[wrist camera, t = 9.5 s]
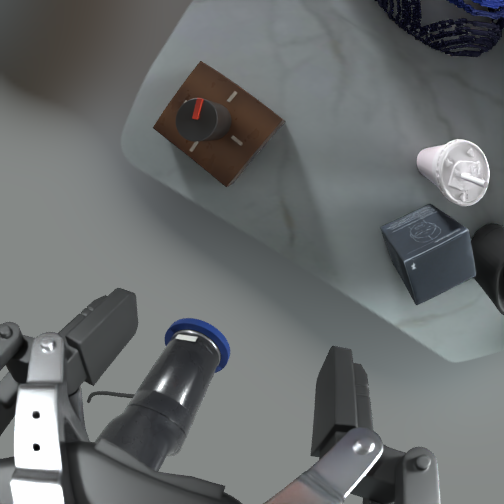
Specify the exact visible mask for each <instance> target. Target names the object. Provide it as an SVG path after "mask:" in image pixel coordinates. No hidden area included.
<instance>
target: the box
mask: <svg viewBox="0 0 504 504" xmlns="http://www.w3.org/2000/svg"><path fill="white" fill-rule="evenodd" d="M380 229H381V231H382V234H383V237H384V239H385V242H386V245H387V248H388V250H389V253H390V256H391V259H392V262H393V265H394V266H395V268H396V270H397V272H398V273H399V275H400V277H401V279H402V280H403V282H404V284H405V286H406V288H407V289H408V291H409V293H410V295H411V297H412V299H413V300H414V302H415V304H416V305H418V304H421V303H423V302H425V301H427V300H429V299H431V298H433V297H435V296H437V295H439V294H441V293H443V292H445V291H447V290H449V289H451V288H453V287H455V286H457V285H459V284H461V283H463V282H464V281H466V280H468V279H470V278H472V277H474V276H476V271H475V264H474V257H473V251H472V246H471V240H470V234H469V230H468V229H467V228H466V227H465V226H463V225H462V224H460V223H459V222H457V221H456V220H454V219H453V218H451V217H450V216H448V215H447V214H445V213H444V212H442V211H441V210H439V209H438V208H436V207H434V206H433V205H431V204H429V205H427V206H424V207H422V208H420V209H418V210H416V211H414V212H412V213H410V214H408V215H405V216H403V217H401V218H399V219H397V220H395V221H393V222H390V223H388V224H386V225H384V226H382V227H380Z"/></svg>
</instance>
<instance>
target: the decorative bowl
mask: <svg viewBox="0 0 504 504" xmlns="http://www.w3.org/2000/svg"><path fill="white" fill-rule="evenodd" d="M375 1H377V2H378V4H379V6H380V8H383V10H384V12H387V8H388V6H387V5H388V0H375ZM396 1H397V12H398V13H397V15H396V16H395V18H394V17H393V14H394V12H393V11H394V10H393V7H394V3H393V0H389V2H390V11H389V12H387V14H388V16H389V18H390V19H392V21H395V23H396V24H398V26H399V28H402V29H404V31H407V33H408V34H412V36H414V37H415V39H416V40H420V41H422V43H424V44H425V45H429V47H431V49H435V50H441V49H442V48H444V47H447V46H452V45H458V44H465V43H467V44H466V45H458V46H452V47H449V48H444V49H442V50H441V52H445V54H450V56H469V57H478V56H480V55H481V53H484V52H488V51H489V50H491V49H492V47H493V46H495V45H496V44H497V43H498V40H500V37H502V30H503V28H504V0H473V2H474V3H479V5H480V6H485V7H488V8H487V9H488V11H489V12H487V11H482V10H476V9H474V8H473V7H471V5H468V4H465V3H464V1H463V0H447V1H449V2H450V3H454V5H455V6H457V7H458V8H463V9H464V10H465V11H466V12H467V13H471V15H473V16H477V15H479V16H485V17H490V18H491V22H492V23H491V24H490V23H486V22H479V21H467V19H465V18H461V19H458V21H453V20H451V19H449V20H446V21H443V20H442V21H439V22H438V23H437V22H436V23H432V24H430V27H429V25H426V26H423V27H421V26H420V25H421V24H420V22H421V18H422V17H421V6H420V5H421V4H420V2H421V1H420V0H411V2H410V1H408V0H401V3H402V4H401V5H402V9H404V10H402V14H400V12H401V7H400V5H399V4H400V0H396ZM411 5H414V6H415V7H412V8H413V10H412V13H411ZM499 7H500V8H499ZM499 9H500V10H499ZM411 14H412V15H413V16H412V19H411ZM400 15H402V18H404V19H401V21H400V22H399V19H400ZM411 20H412V21H413V22H412V23H411ZM415 20H417V21H415ZM494 20H498V21H497V22H496V23H494V22H493V21H494ZM446 23H449V25H446ZM467 23H468V24H473V26H477V27H485V28H487V29H488V31H483V30H475V29H470V27H461V26H464V25H463V24H467ZM438 24H439V25H441V27H440V26H439V27H438ZM454 24H455V25H456V26H457V27H455V30H453V31H444V30H441V29H446V28H449V27H450V28H451V27H452V26H451V25H454ZM407 25H410V26H411V27H410V28H409V29H408V27H406V26H407ZM428 28H429V29H430V30H429V29H428ZM437 28H438V30H441V31H439V34H436V35H432V34H429V35H430V37H428V35H427V34H428V31H429V32H434V31H438V30H437ZM417 29H420V31H419V32H418V31H416V30H417ZM489 29H492V30H489ZM462 30H465V31H466V32H462ZM413 31H415V32H413ZM412 32H413V33H412ZM468 32H471V34H473V35H482V36H488V34H489V37H490V38H491V39H490V38H488V37H480V38H475V36H470V35H468ZM417 33H419V35H418V36H417V35H416V34H417ZM496 33H497V35H496ZM462 34H465V35H464V36H459V38H458V39H452V40H447V41H443V40H442V39H441V38H444V37H451V36H457V35H462ZM424 35H426V36H425V37H426V38H425V39H423V38H421V37H423V36H424ZM434 38H435V40H438V39H441V43H439V41H437V42H433V43H430V42H431V40H432V41H434ZM473 38H474V39H475V40H473ZM429 43H430V44H429ZM474 43H475V44H480V45H473V44H474ZM481 45H485V46H486V47H484V46H481ZM463 47H474V48H480V49H481V50H480V51H467V50H464V51H458V52H450V51H449V50H453V49H456V48H463Z"/></svg>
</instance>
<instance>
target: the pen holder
mask: <svg viewBox="0 0 504 504" xmlns="http://www.w3.org/2000/svg"><path fill="white" fill-rule="evenodd" d="M471 246H472V251H473V257H474V264H475V271H476V276H474V278H475V279H476V281H477V282H478V283H479V285H480V286H481V287H482V289H483V290H484V291H485V292H486V294H487V295H488V296H489V298H490V299H491V300H492V302H493V303H494V304H495V306H496V307H497V309H498V310H499V311H500V313H501V314H503V315H504V227H503V226H501V225H499V224H494V223H492V224H487V225H485V226H483V227H482V228H481V229H479V230H478V231H477V232H476V234H475V235H474V236H473V238H472V240H471Z"/></svg>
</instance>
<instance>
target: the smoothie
mask: <svg viewBox="0 0 504 504" xmlns="http://www.w3.org/2000/svg"><path fill="white" fill-rule="evenodd" d="M417 167H418V170H419V171H420V173H421V174H422V175H424V176H425V177H426V178H427V179H429V180H430V181H431V182H432V183H433V184H435V185H436V186H437V187H438V188H439V189H440V191H441V193H442V194H443V195H444V196H445V197H446V198H447V199H448V200H449V201H451V202H452V203H454V204H457V205H460V206H470V205H473V204H475V203H477V202H478V201H479V200H480V199H481V198H482V197H483V195H484V194H485V192H486V190H487V187H488V184H489V176H490V173H489V165H488V162H487V159H486V157H485V155H484V153H483V152H482V150H481V149H480V148H479V147H478V146H477V145H475V144H474V143H472V142H470V141H466V140H462V139H456V140H453V141H450V142H448V143H447V144H446V145H440V146H435V147H430V148H425V149H423V150H421V151H420V153H419V154H418V156H417Z"/></svg>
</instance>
